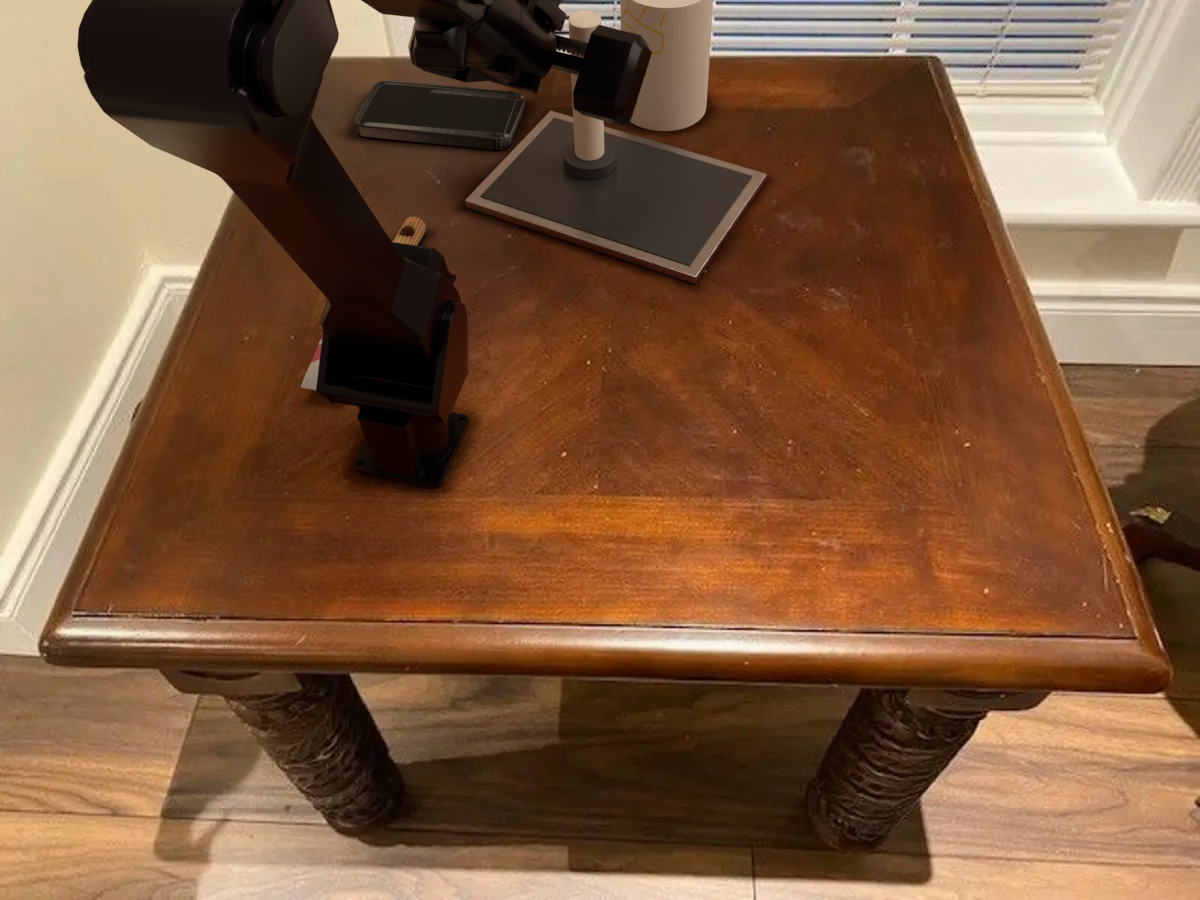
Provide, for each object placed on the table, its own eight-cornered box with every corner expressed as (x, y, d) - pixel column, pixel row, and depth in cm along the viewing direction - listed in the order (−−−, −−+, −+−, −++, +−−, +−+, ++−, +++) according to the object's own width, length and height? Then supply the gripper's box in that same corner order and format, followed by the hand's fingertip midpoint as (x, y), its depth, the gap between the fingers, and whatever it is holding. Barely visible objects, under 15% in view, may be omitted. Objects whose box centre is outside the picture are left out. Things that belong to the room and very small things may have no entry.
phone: (507, 140, 94) (350, 125, 96) (508, 151, 95) (353, 135, 97) (527, 92, 99) (377, 78, 101) (528, 102, 100) (380, 88, 102)
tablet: (766, 181, 91) (767, 172, 91) (695, 284, 83) (696, 276, 83) (550, 117, 98) (550, 109, 97) (465, 207, 90) (464, 199, 89)
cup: (608, 93, 100) (606, -29, 91) (685, 75, 102) (691, -47, 93) (640, 139, 96) (641, 15, 86) (720, 119, 97) (729, -4, 88)
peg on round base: (627, 160, 92) (627, 15, 82) (594, 187, 90) (589, 41, 79) (586, 141, 94) (580, -3, 84) (552, 166, 92) (541, 22, 81)
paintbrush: (288, 371, 74) (393, 208, 87) (297, 398, 76) (398, 234, 89) (337, 380, 73) (436, 214, 86) (345, 407, 75) (441, 241, 88)
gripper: (642, -73, 67) (701, 11, 82) (403, -123, 73) (498, -37, 87) (590, 97, 69) (656, 149, 84) (360, 35, 75) (460, 94, 89)
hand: (566, 84), depth 86 cm, fingers open, 9 cm apart
